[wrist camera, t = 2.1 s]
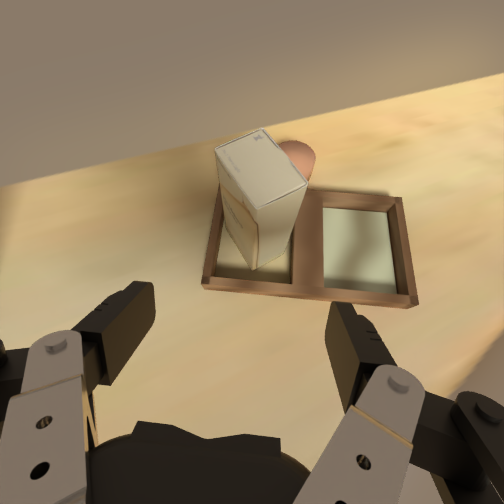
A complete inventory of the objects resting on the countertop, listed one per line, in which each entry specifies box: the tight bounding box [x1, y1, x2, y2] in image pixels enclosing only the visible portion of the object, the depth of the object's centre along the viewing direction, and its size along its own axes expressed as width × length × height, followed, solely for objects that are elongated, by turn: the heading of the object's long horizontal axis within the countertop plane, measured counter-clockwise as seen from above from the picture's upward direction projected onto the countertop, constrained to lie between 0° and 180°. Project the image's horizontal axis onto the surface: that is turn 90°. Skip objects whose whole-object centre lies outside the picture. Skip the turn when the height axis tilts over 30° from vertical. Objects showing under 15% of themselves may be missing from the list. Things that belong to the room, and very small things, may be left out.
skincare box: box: [214, 128, 308, 270], centre depth 23 cm, size 6×4×12 cm
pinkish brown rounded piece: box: [278, 141, 315, 181], centre depth 32 cm, size 5×5×3 cm
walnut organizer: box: [201, 183, 419, 309], centre depth 28 cm, size 21×12×2 cm, turn 84°
